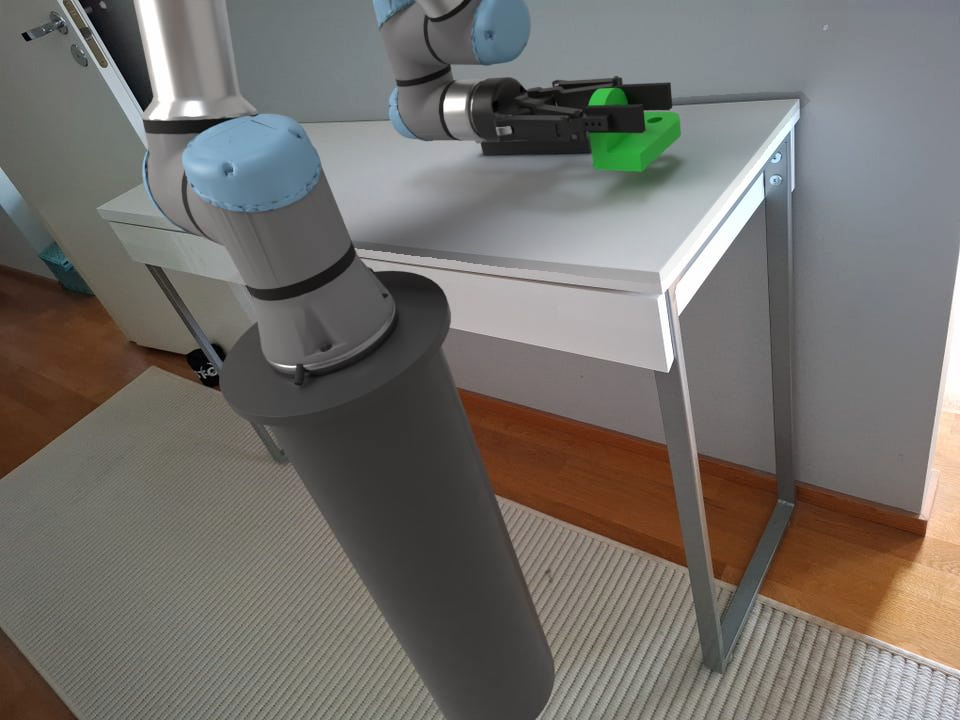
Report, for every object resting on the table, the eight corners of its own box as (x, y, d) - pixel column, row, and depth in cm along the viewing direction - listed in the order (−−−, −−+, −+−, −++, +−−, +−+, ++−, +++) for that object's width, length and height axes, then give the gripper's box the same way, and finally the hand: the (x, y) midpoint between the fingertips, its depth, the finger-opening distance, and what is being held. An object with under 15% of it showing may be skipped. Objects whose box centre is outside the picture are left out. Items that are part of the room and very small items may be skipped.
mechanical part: (641, 171, 73) (633, 98, 68) (594, 169, 76) (583, 99, 72) (689, 128, 79) (685, 58, 74) (643, 127, 83) (636, 61, 78)
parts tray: (589, 152, 90) (587, 138, 89) (483, 155, 100) (480, 142, 99) (623, 119, 97) (621, 105, 96) (520, 124, 107) (518, 112, 106)
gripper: (534, 111, 91) (696, 109, 77) (450, 169, 81) (617, 179, 67) (523, 54, 87) (692, 41, 73) (432, 108, 77) (608, 104, 63)
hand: (656, 107), depth 70 cm, fingers closed on mechanical part, 5 cm apart
